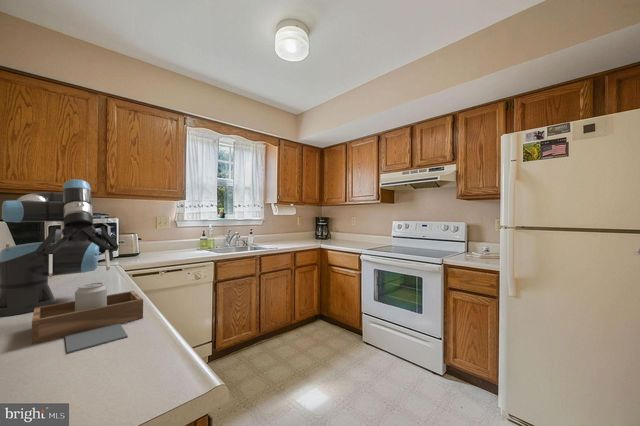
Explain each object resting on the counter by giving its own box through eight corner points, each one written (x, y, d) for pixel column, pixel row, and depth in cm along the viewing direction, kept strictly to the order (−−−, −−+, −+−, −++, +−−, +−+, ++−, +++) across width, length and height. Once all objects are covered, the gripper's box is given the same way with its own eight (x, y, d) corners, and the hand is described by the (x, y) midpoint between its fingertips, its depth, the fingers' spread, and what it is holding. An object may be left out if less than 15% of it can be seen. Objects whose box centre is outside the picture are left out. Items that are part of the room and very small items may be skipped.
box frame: (34, 327, 78) (34, 307, 78) (133, 307, 95) (133, 290, 95) (31, 344, 68) (31, 321, 68) (143, 318, 85) (143, 299, 85)
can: (87, 329, 77) (88, 288, 77) (68, 326, 79) (68, 286, 79) (112, 319, 84) (113, 281, 84) (94, 317, 86) (94, 280, 86)
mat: (65, 337, 72) (65, 336, 72) (119, 324, 80) (119, 323, 80) (66, 353, 63) (66, 352, 63) (127, 337, 72) (127, 335, 72)
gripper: (24, 210, 81) (21, 272, 73) (123, 211, 99) (130, 261, 91) (26, 224, 86) (23, 284, 77) (120, 222, 103) (126, 271, 95)
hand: (81, 271), depth 84 cm, fingers open, 13 cm apart
